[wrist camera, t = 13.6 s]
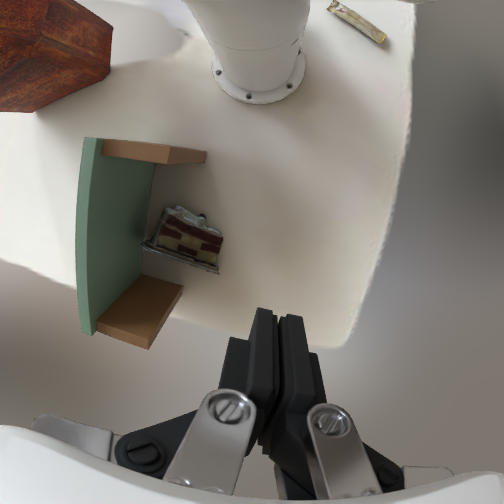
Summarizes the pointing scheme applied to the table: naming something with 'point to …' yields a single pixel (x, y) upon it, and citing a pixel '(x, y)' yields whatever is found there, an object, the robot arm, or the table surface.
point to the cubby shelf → (120, 239)
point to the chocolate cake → (185, 239)
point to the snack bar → (357, 21)
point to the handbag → (49, 52)
